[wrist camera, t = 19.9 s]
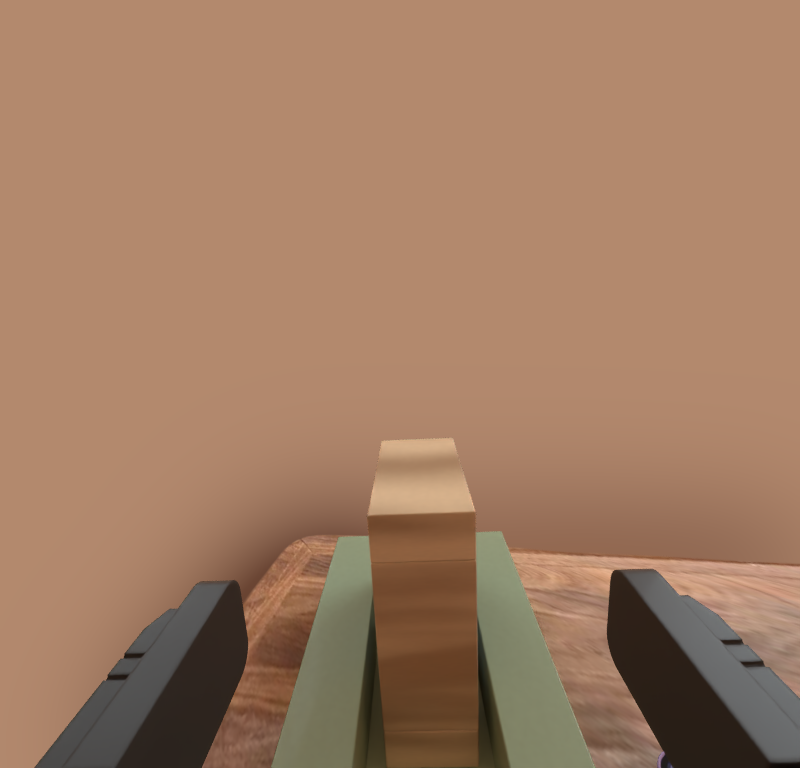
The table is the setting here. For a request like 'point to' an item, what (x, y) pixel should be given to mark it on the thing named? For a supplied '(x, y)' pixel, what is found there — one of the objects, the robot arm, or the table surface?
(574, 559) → the table surface
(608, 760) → the table surface
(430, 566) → the wooden block with panel
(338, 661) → the holder
